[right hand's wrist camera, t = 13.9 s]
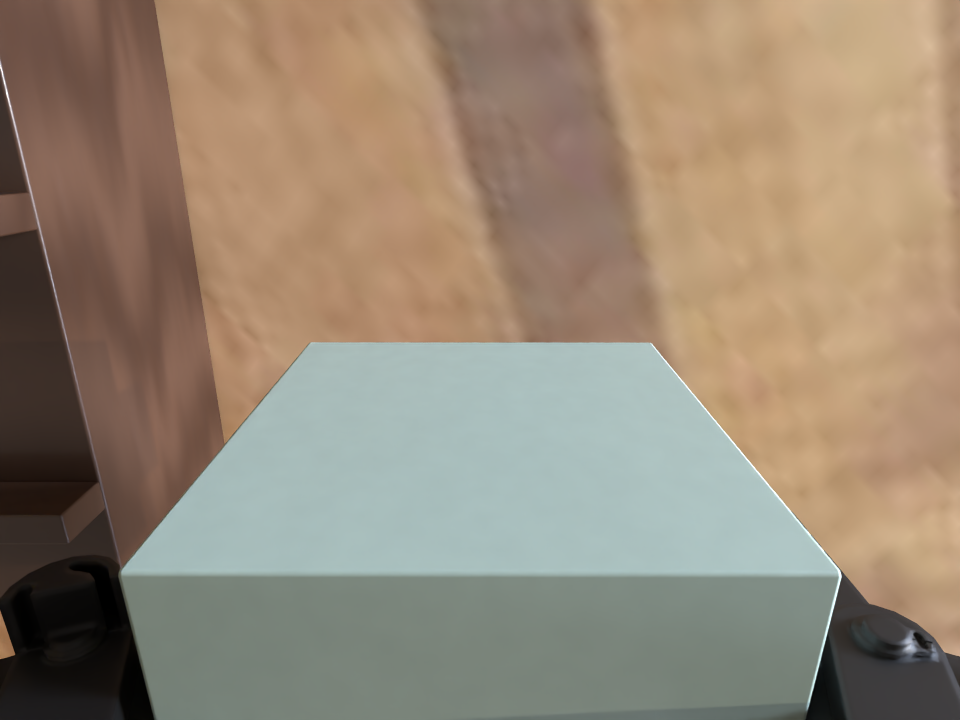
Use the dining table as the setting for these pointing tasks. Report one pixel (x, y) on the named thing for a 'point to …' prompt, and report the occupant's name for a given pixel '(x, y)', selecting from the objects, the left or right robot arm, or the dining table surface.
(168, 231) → the walnut rail
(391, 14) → the dining table surface
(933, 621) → the dining table surface
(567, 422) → the sage cap block
